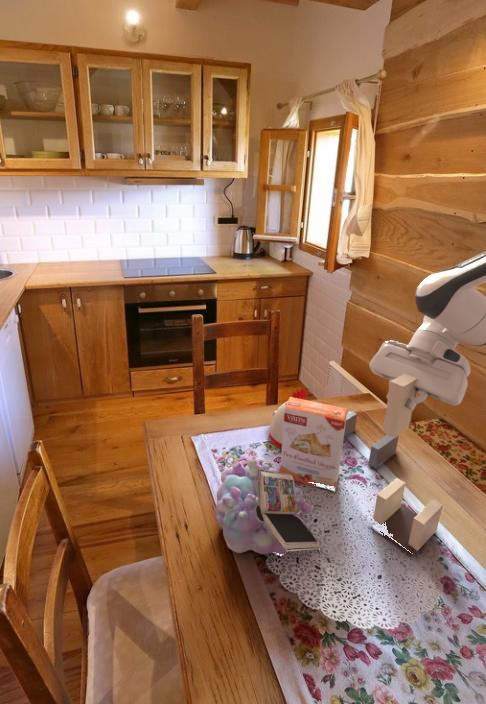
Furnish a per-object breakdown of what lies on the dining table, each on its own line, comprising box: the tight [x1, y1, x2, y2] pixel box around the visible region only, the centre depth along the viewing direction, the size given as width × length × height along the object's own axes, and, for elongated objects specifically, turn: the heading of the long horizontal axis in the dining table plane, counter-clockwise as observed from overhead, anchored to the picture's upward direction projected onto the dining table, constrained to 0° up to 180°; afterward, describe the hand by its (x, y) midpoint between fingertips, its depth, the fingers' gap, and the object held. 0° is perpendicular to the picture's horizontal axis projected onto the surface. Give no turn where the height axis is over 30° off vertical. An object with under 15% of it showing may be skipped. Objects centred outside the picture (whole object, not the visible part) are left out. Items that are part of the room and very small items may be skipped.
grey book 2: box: [368, 434, 400, 469], centre depth 109 cm, size 2×10×6 cm, turn 128°
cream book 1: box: [372, 477, 406, 525], centre depth 89 cm, size 2×8×7 cm, turn 128°
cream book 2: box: [408, 499, 444, 552], centre depth 83 cm, size 2×8×7 cm, turn 128°
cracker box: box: [279, 396, 348, 488], centre depth 99 cm, size 14×6×21 cm, turn 68°
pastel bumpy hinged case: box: [214, 455, 321, 555], centre depth 85 cm, size 20×22×18 cm
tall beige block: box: [382, 374, 418, 438], centre depth 90 cm, size 3×6×13 cm, turn 128°
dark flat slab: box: [380, 503, 418, 558], centre depth 88 cm, size 9×10×2 cm
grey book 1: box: [344, 410, 358, 438], centre depth 118 cm, size 2×10×6 cm, turn 128°
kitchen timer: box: [268, 388, 308, 450], centre depth 116 cm, size 14×14×15 cm
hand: (399, 404), depth 89 cm, fingers closed on tall beige block, 3 cm apart
